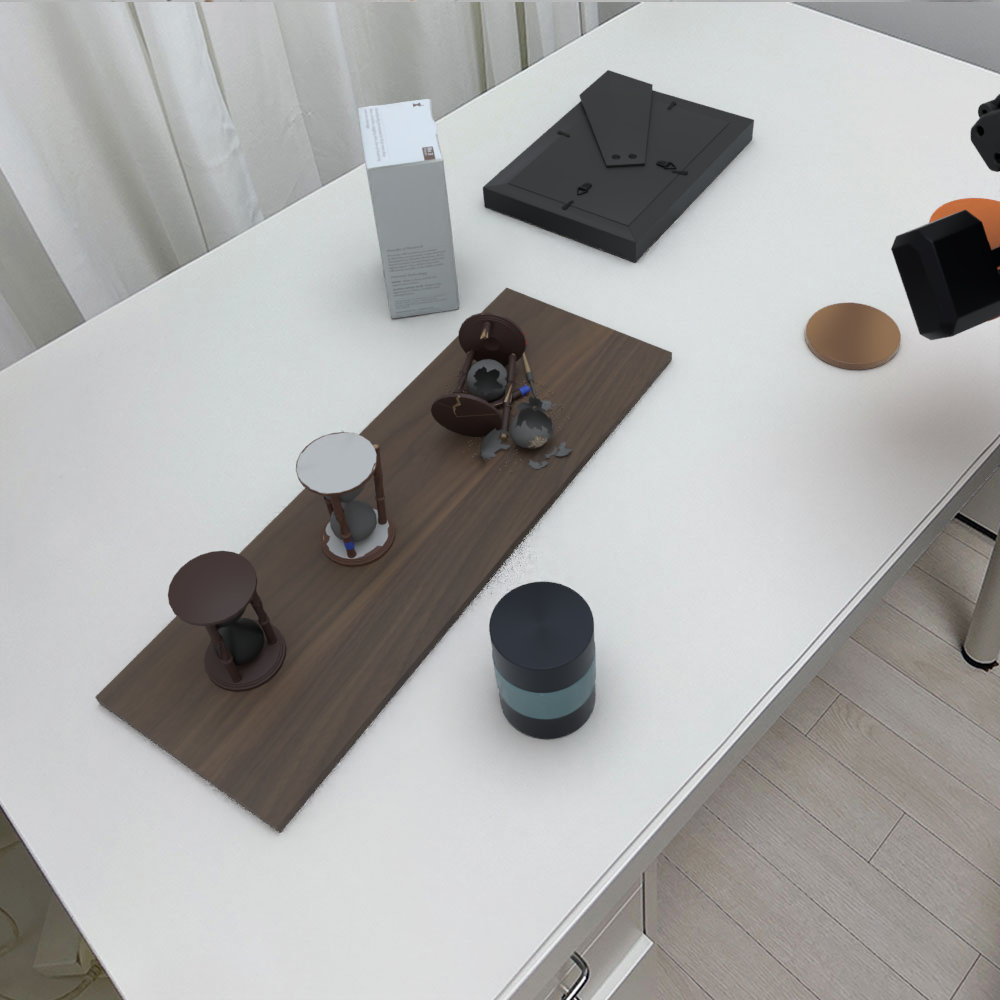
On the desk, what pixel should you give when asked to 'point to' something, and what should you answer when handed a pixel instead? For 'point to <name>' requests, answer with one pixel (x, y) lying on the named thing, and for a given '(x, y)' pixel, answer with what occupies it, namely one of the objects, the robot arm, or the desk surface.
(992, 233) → the cap
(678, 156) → the picture frame
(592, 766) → the desk surface
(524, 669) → the navy teal banded cylinder
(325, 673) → the hourglass set
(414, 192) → the cosmetic box
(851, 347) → the coaster
